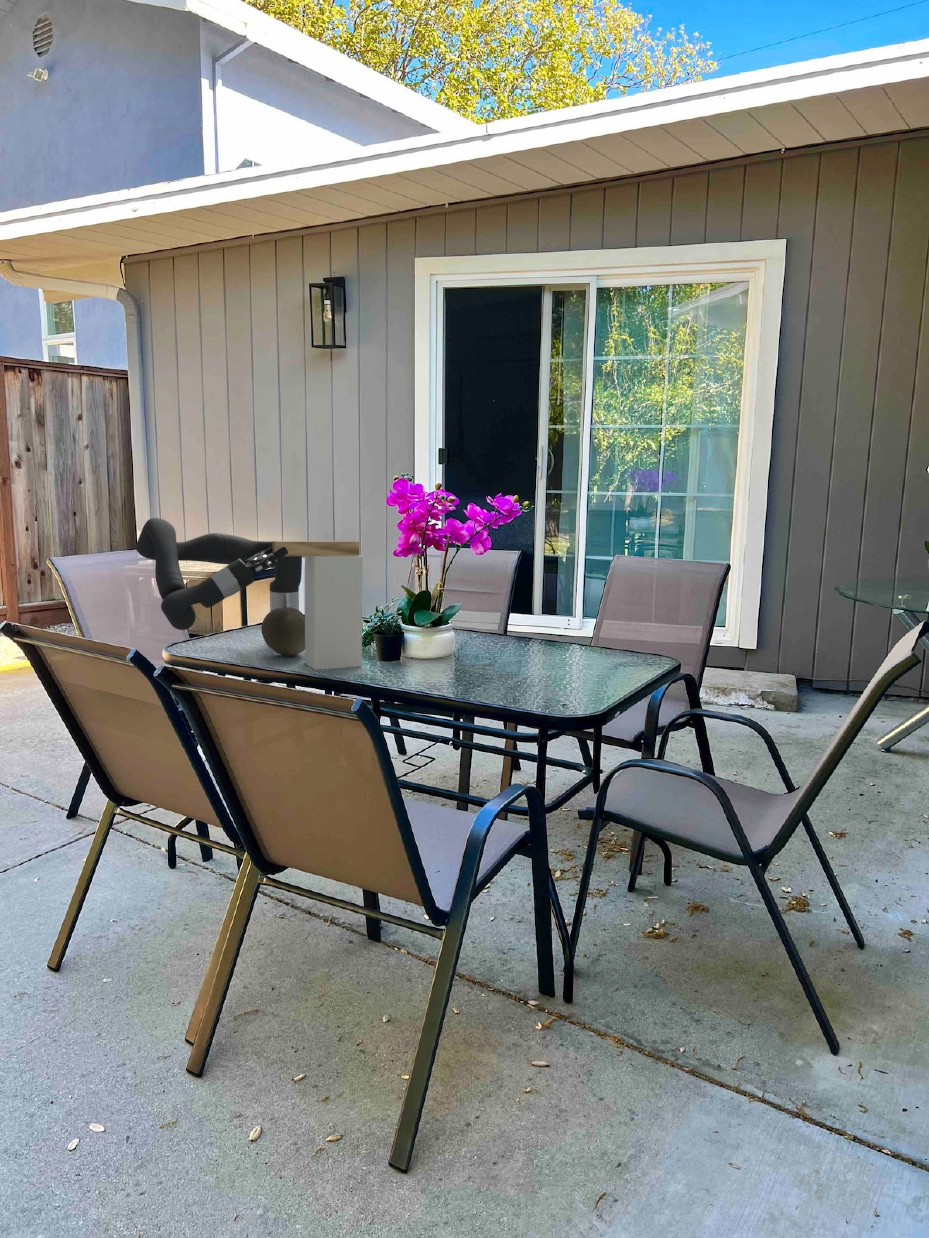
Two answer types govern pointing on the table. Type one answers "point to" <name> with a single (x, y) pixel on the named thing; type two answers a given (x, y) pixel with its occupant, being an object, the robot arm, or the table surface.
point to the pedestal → (333, 611)
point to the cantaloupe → (284, 631)
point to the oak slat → (318, 548)
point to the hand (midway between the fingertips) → (282, 548)
